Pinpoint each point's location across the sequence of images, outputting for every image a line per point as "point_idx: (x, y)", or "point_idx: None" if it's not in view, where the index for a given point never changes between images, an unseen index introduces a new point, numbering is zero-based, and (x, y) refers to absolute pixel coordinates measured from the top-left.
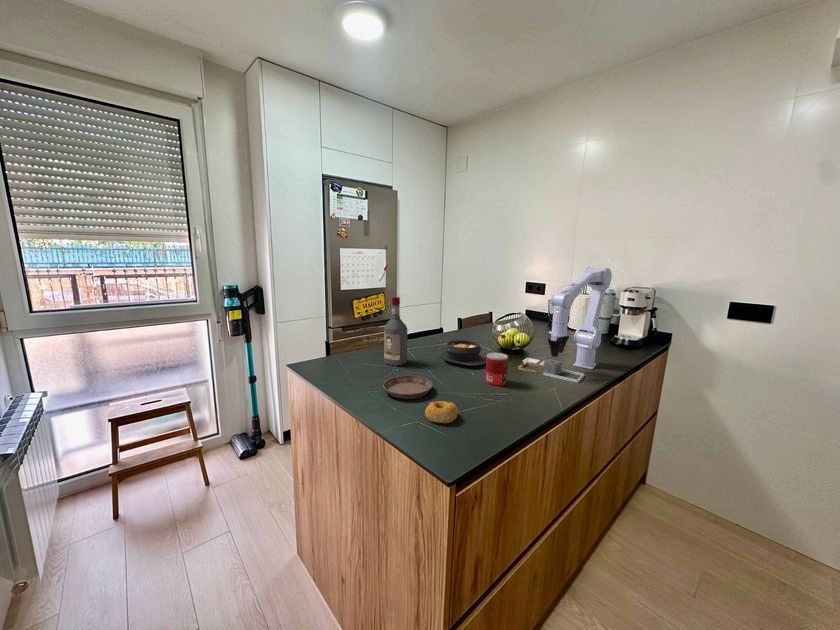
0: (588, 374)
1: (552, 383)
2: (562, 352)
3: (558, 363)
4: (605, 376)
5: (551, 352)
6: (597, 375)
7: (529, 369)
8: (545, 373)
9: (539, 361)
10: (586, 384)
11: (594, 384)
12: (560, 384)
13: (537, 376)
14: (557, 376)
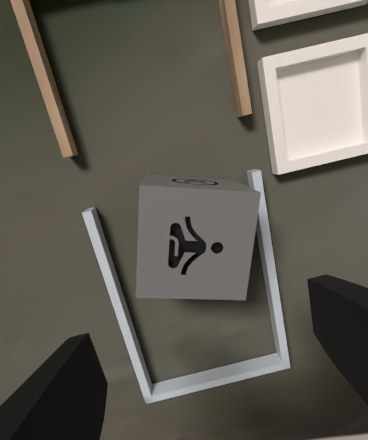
0: (328, 356)
1: (6, 323)
2: (323, 335)
3: (191, 297)
4: (359, 413)
5: (37, 376)
6: (346, 387)
7: (48, 96)
8: (87, 227)
9: (355, 4)
10: (162, 419)
11: (195, 437)
12: (36, 354)
13: (25, 199)
14: (112, 300)
